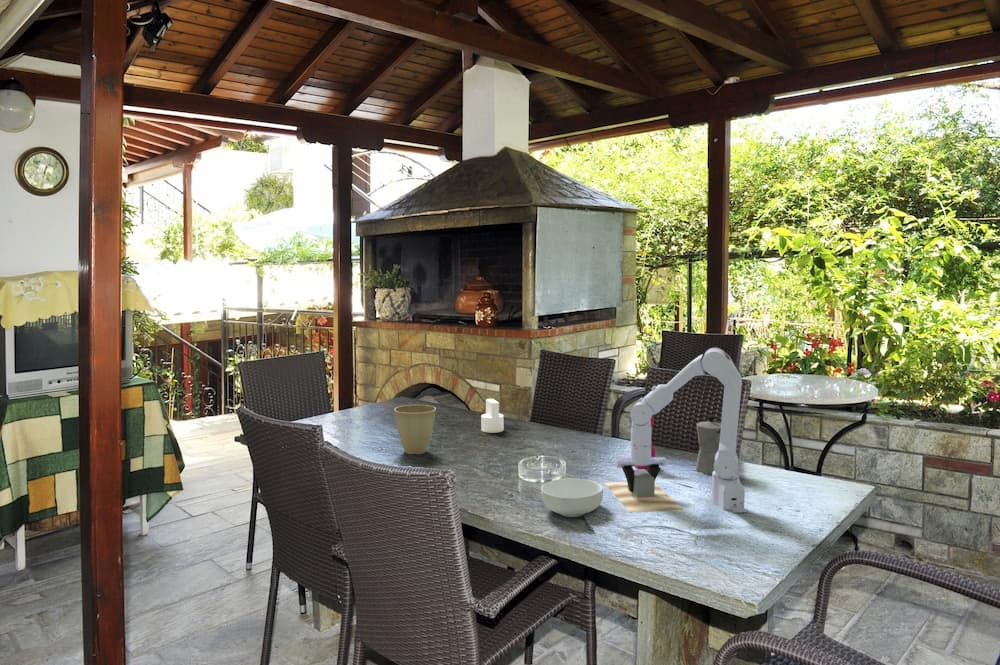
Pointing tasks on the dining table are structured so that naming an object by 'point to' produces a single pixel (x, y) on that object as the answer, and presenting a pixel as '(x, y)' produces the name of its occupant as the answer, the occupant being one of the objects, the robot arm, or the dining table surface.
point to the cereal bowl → (572, 496)
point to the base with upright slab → (492, 418)
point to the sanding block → (643, 485)
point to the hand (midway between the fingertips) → (640, 490)
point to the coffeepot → (707, 445)
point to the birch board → (649, 505)
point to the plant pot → (415, 426)
